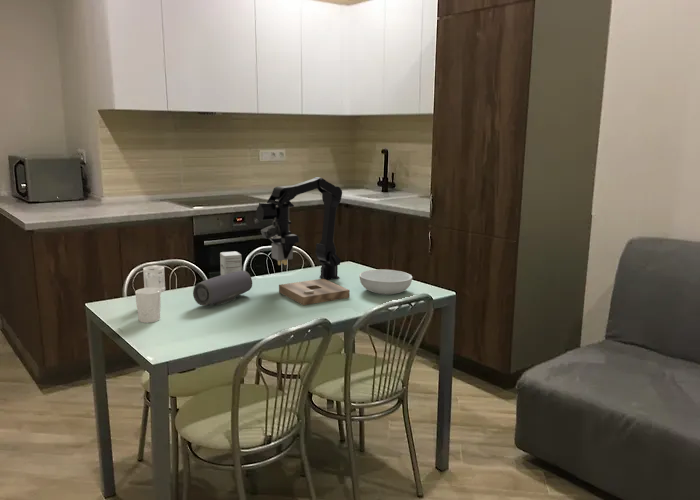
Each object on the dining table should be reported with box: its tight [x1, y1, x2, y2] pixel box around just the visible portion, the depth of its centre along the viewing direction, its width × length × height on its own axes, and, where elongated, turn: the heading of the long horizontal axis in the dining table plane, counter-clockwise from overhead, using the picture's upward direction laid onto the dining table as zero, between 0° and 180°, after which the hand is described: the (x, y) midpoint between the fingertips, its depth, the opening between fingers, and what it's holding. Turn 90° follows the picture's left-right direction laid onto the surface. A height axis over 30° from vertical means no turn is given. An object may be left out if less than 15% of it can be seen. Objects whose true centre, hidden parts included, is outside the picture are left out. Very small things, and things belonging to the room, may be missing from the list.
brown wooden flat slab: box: [278, 278, 351, 306], centre depth 228 cm, size 20×20×4 cm
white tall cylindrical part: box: [142, 264, 166, 293], centre depth 210 cm, size 7×7×15 cm
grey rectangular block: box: [271, 242, 294, 266], centre depth 236 cm, size 6×6×8 cm
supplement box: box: [219, 250, 243, 275], centre depth 242 cm, size 7×7×13 cm
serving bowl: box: [359, 268, 413, 296], centre depth 233 cm, size 21×21×7 cm
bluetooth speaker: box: [192, 270, 253, 307], centre depth 217 cm, size 23×9×10 cm, turn 149°
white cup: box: [134, 287, 162, 324], centre depth 195 cm, size 8×8×10 cm
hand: (282, 257), depth 237 cm, fingers closed on grey rectangular block, 6 cm apart
